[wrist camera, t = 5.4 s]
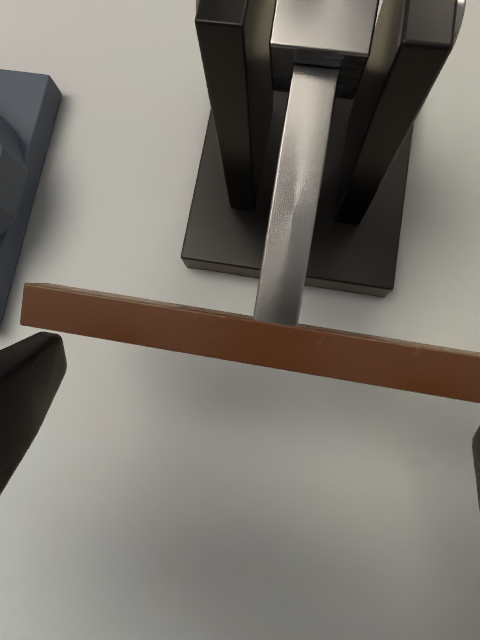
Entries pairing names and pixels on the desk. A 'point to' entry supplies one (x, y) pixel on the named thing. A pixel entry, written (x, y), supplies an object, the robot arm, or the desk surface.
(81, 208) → the desk surface
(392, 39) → the lever bracket
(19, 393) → the robot arm
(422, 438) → the desk surface
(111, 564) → the desk surface
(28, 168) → the button box
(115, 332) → the lever
